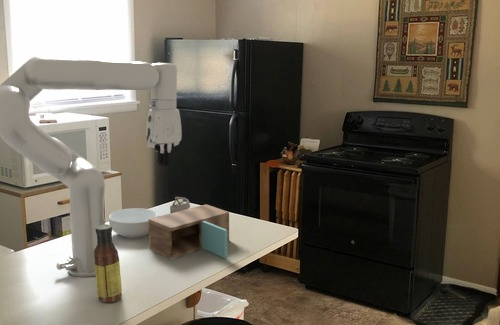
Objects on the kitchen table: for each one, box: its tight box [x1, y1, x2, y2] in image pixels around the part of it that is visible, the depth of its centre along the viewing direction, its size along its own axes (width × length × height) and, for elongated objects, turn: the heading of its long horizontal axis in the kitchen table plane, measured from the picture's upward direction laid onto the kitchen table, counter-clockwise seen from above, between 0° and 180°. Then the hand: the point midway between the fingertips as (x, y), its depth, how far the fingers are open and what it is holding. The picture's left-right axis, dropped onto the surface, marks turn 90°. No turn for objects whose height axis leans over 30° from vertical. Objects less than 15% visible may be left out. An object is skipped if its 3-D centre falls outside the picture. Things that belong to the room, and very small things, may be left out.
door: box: [201, 221, 230, 259], centre depth 178 cm, size 12×2×9 cm, turn 42°
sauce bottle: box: [94, 223, 123, 304], centre depth 145 cm, size 7×6×20 cm
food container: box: [169, 196, 191, 214], centre depth 201 cm, size 12×6×10 cm, turn 179°
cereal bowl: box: [108, 207, 159, 239], centre depth 195 cm, size 17×17×7 cm
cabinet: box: [148, 203, 230, 259], centre depth 185 cm, size 24×12×10 cm, turn 134°
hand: (163, 165), depth 171 cm, fingers closed
